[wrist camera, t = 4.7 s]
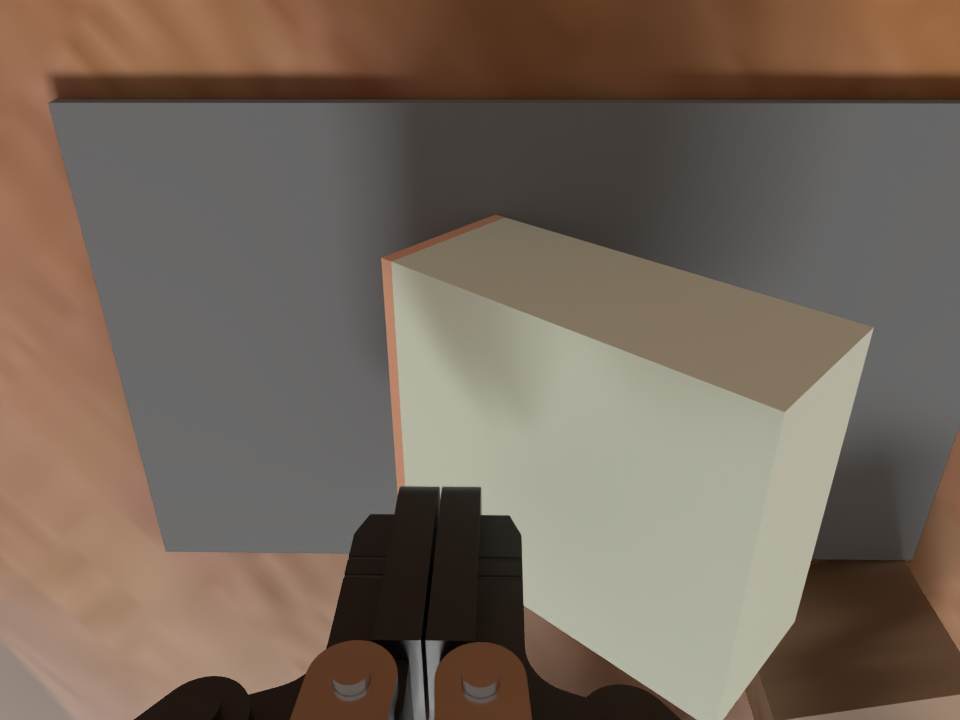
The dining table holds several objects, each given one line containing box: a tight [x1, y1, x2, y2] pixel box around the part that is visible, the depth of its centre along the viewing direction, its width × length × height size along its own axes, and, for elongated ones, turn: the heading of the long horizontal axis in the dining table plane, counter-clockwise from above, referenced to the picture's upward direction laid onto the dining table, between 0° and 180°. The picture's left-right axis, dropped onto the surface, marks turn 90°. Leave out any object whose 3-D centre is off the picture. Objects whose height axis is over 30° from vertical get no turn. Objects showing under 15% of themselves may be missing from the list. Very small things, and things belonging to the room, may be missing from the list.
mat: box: [48, 99, 960, 560], centre depth 21 cm, size 22×13×1 cm, turn 90°
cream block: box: [381, 215, 874, 720], centre depth 17 cm, size 4×7×8 cm
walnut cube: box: [745, 560, 960, 720], centre depth 23 cm, size 5×5×5 cm
